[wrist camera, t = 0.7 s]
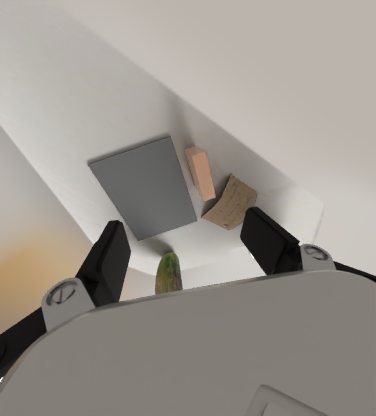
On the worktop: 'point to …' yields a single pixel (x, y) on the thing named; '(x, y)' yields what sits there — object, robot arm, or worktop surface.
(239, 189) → the cork arch piece
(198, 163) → the block
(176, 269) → the vegetable
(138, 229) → the mat
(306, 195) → the worktop surface
